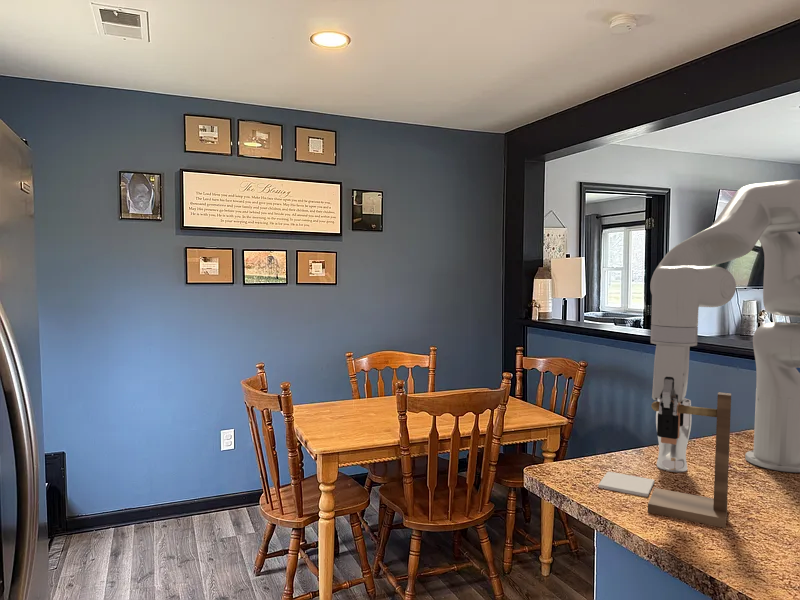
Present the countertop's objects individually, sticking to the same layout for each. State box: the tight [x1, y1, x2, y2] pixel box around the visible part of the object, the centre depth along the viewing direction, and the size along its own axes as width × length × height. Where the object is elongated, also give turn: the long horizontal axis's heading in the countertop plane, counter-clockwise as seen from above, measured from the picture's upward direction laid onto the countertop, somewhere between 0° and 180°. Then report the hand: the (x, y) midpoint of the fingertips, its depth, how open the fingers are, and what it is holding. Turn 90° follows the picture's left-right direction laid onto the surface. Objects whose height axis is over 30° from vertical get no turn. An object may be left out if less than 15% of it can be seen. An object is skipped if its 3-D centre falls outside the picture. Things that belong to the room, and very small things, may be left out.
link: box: [661, 402, 681, 445], centre depth 104 cm, size 6×2×8 cm, turn 149°
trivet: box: [597, 471, 655, 498], centre depth 115 cm, size 9×9×1 cm
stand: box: [647, 391, 732, 529], centre depth 103 cm, size 9×12×22 cm
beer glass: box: [655, 397, 692, 473], centre depth 126 cm, size 7×7×15 cm
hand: (670, 430), depth 104 cm, fingers open, 9 cm apart
